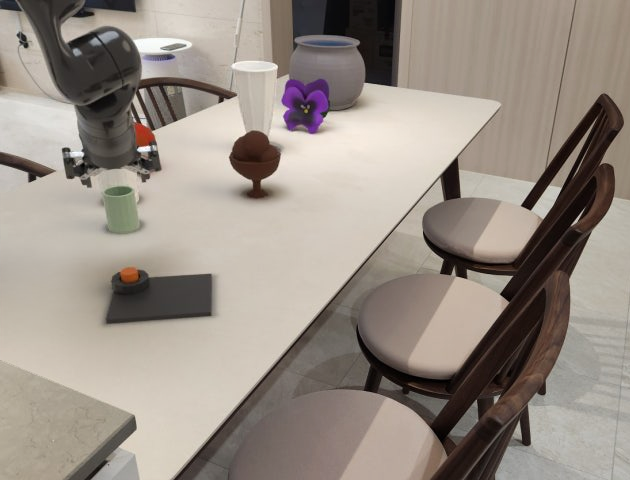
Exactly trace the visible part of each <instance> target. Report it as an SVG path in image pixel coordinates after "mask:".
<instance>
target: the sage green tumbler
mask: <svg viewBox="0 0 630 480" xmlns="http://www.w3.org/2000/svg"><path fill="white" fill-rule="evenodd" d="M101 195H102V201H103V206H104V212H105V217H106V222H107V223H106V224H107V229H108V230H109V232H111V233H113V234H114V233H115V234H128V233H132V232H135V231H137V230H138V229H140V226H141V223H140V216H139V211H138V202H137V203H136V197H135V190H134V189H133V188H132V187H130V186H113V187H109V188H106V189H105V190H103V192H101Z"/></svg>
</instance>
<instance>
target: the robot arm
mask: <svg viewBox="0 0 630 480" xmlns="http://www.w3.org/2000/svg"><path fill="white" fill-rule="evenodd" d="M15 2H16V3H17V5H18V7H19V9H21V11H22V13H23V14H24V17H25V18H26V20H27V22H28V24H29V25H30V27H31V29H32V32H33V34H34V36H35V38H36V41H37V43H38V45H39V49H40V51H41V54H42V57H43V60H44V63H45V66H46V69H47V71H48V75H49V77H50V79H51V82H52V84H53V86H54V88H55V89H56V91H57V92H58V93H59V95H60V96H61V97H63V99H64V100H66V101H67V102H69V103H71V104H73V108H74V111H75V115H76V124H77V125H76V126H77V130H78V131H77V132H78V137H79V140H80V142H81V147H82V149H81V151H72V150H71V148H70V147H66V146H65V147H62V148H61V154H62V162H63V167H64V172H65V178H66V179H67V180H73V179H75V177H77V178H78V179H79V180H80V182H81V185H82V186H86V188H87V189H91V188H93V185H92V178H91V177H97V175H98V174H99V173H100V172H102V171H103V170H104V171H106V170H111V169H127V170H130V171H132V172H134V173H136V172H137V173H140V179H141V184H143V183H147V180H150V179H151V171H153V172H160V171H162V165H161V159H160V158H161V157H160V153H159V149H158V141H157V140H156V141H150V142H149V146H146V147H139V146H138V145H137V144H136V130H135V124H134V123H135V120H134V118H133V115H132V106H131V105H132V103H133V101H134V99H135V96H136V94H137V91H138V89H139V86H140V84H141V81H142V72H143V66H142V65H143V63H142V57H141V54H140V51H139V49H138V46H137V45H136V43H135V41H134V40H133V38H132V37H131V36H130V35H129V34H128V33H127V32H126V31H124V30H123V29H121V28H119V27H116V26H113V25H102V26H98V27H96V28H94V29H91V30H89V31H88V32H85V33H84V34H81V35H79V36H77V37H75V38H73V39H71V40H68V41H65V40H64V36H63V34H62V26H63V25H64V23H66V22H67V21H68V20H69V19H70V18H72V16H74V15H76V14H77V13H78V12H79V11H81V9H82V8H84V5H85V2H86V0H15ZM142 155H145V156H146V157H148V158H146V157H144V156H142Z"/></svg>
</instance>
